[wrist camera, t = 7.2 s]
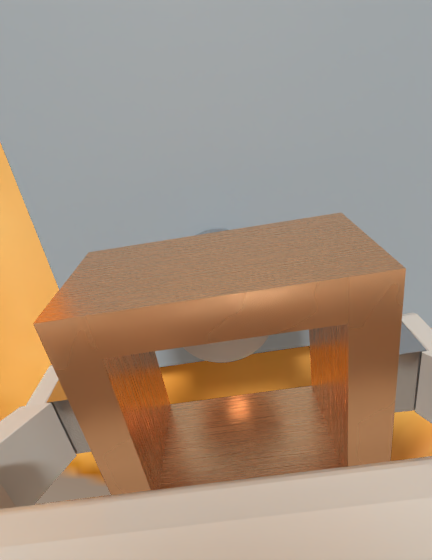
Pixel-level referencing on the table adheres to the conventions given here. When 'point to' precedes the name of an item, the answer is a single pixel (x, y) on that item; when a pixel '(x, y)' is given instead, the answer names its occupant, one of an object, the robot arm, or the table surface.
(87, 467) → the table surface
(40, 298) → the table surface
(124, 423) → the collar
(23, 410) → the robot arm
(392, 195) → the plate
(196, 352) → the piston
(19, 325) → the table surface
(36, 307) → the table surface
